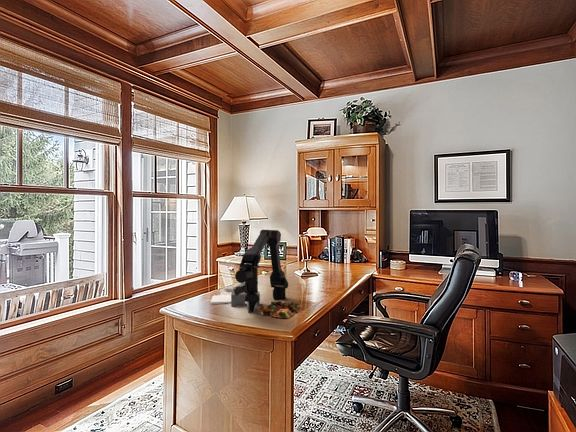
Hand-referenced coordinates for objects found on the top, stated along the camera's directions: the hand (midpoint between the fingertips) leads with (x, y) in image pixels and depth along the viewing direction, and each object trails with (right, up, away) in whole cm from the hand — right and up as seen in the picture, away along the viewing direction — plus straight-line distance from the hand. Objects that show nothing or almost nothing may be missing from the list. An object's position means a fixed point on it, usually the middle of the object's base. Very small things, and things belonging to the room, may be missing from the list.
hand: (251, 311), depth 163 cm
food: (+13, -2, +6) cm, 15 cm away
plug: (-1, -1, +9) cm, 9 cm away
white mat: (-18, -1, +26) cm, 32 cm away
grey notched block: (-5, -1, +18) cm, 18 cm away
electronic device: (-14, -1, +46) cm, 49 cm away
